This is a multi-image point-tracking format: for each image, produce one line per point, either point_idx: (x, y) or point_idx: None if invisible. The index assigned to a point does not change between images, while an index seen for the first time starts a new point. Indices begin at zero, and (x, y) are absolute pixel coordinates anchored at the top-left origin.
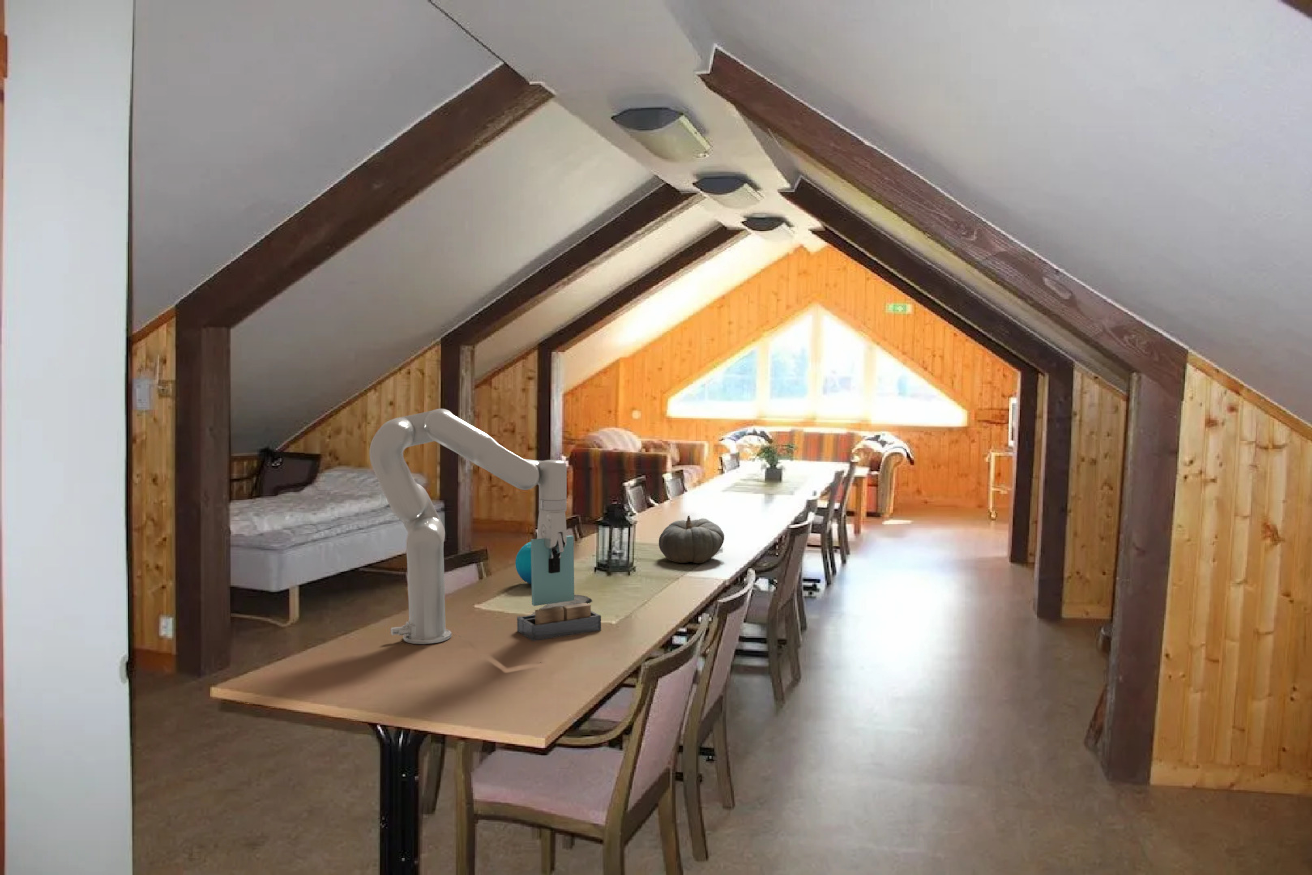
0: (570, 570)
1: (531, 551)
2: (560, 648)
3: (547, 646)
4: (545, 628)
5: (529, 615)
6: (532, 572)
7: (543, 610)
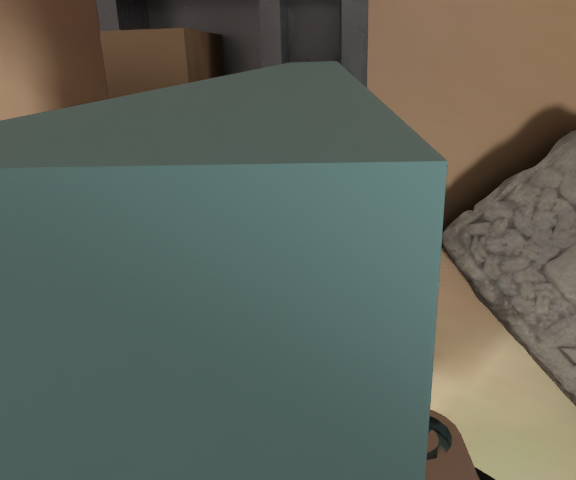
0: None
1: (324, 84)
2: (19, 89)
3: (76, 43)
4: None
5: (360, 49)
6: (301, 68)
7: (143, 80)
